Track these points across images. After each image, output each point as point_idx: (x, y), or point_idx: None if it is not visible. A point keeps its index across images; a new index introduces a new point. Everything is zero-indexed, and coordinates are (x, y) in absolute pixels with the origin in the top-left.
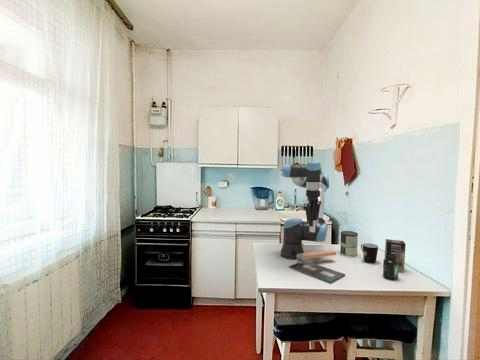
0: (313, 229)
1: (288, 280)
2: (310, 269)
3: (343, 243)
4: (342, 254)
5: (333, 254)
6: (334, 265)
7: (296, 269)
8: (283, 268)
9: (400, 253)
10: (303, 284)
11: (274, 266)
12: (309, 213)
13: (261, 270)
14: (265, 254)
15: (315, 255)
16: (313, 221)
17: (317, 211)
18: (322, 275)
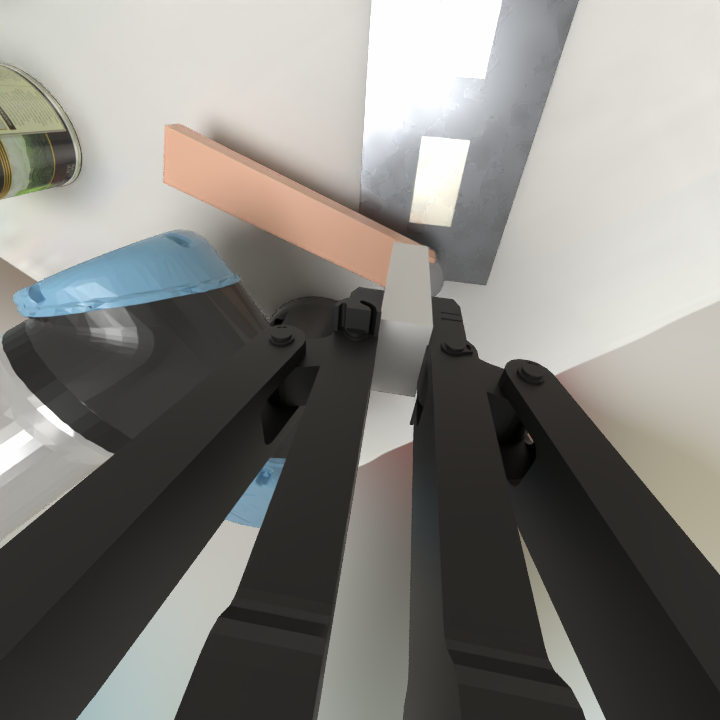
0: (427, 263)
1: (671, 190)
2: (464, 165)
3: (6, 157)
4: (78, 154)
5: (200, 135)
6: (263, 93)
7: (501, 234)
8: (507, 297)
9: None
10: (707, 72)
11: (507, 338)
12: (666, 515)
13: (588, 354)
14: (399, 421)
15: (341, 210)
16: (431, 325)
17: (216, 453)
18: (517, 30)
